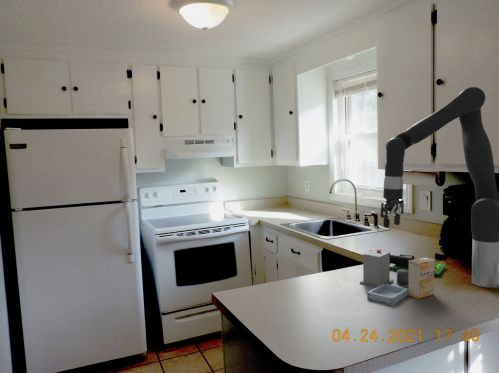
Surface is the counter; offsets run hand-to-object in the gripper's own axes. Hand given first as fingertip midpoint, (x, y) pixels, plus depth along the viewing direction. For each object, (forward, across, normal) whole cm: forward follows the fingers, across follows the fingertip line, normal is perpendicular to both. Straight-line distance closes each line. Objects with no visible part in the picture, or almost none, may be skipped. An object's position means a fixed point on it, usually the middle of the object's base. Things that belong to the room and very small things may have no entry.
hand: (391, 226), depth 165 cm
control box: (+21, -12, -1) cm, 24 cm away
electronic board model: (+22, +15, +1) cm, 26 cm away
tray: (+21, -22, -12) cm, 33 cm away
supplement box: (+21, -13, -19) cm, 31 cm away
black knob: (+21, -5, -8) cm, 23 cm away
